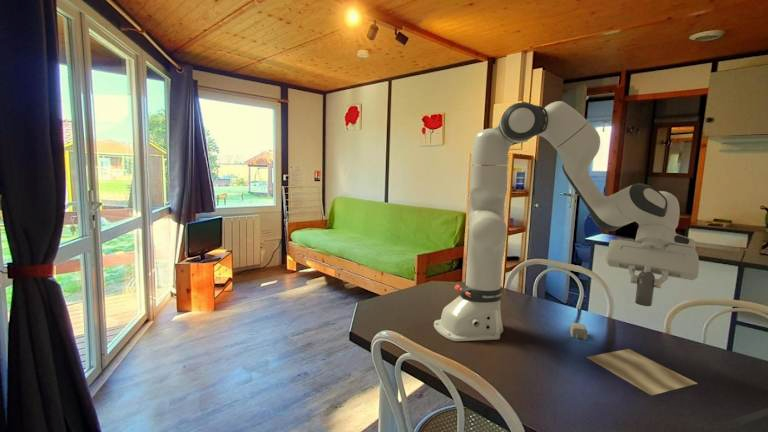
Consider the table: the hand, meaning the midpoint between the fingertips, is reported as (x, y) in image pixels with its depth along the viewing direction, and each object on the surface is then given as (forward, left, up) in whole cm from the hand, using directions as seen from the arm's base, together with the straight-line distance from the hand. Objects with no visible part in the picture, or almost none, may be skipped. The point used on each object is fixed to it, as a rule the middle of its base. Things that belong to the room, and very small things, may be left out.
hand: (645, 284), depth 97 cm
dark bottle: (+1, 0, -5) cm, 5 cm away
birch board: (-2, -2, -23) cm, 23 cm away
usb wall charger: (-2, +17, -23) cm, 29 cm away
